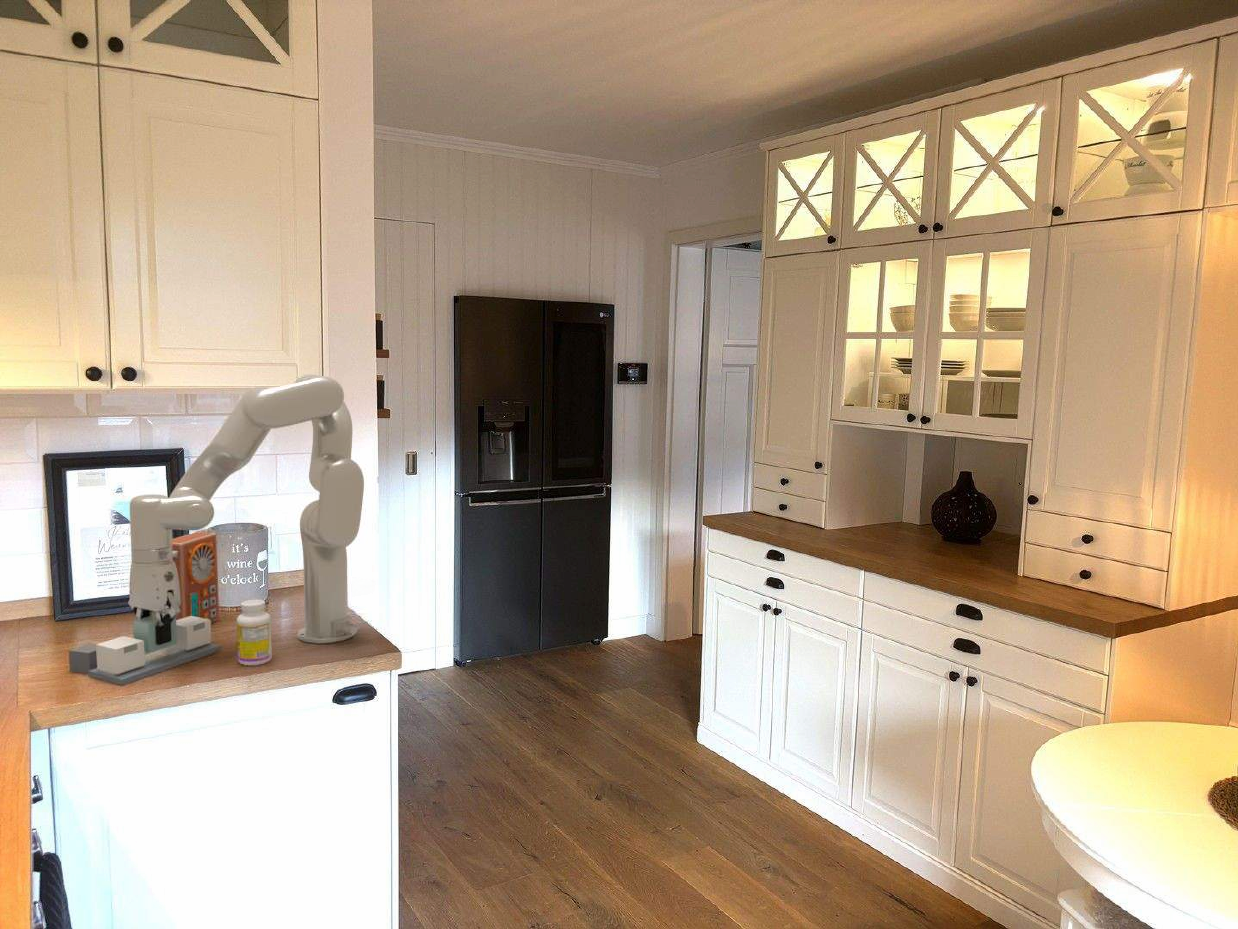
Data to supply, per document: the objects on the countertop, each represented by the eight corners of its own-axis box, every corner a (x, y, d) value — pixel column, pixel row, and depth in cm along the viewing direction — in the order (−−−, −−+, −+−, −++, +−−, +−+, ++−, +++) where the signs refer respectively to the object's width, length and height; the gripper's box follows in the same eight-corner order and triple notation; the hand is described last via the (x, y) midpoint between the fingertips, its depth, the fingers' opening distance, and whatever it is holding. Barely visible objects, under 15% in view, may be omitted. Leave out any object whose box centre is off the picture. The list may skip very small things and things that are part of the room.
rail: (208, 644, 195) (208, 641, 195) (114, 676, 175) (114, 673, 175) (194, 641, 197) (194, 638, 197) (100, 672, 177) (99, 669, 177)
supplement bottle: (244, 655, 192) (242, 597, 190) (276, 655, 192) (274, 597, 191) (233, 666, 185) (231, 606, 184) (265, 666, 186) (264, 606, 184)
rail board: (220, 650, 194) (219, 645, 194) (122, 685, 174) (122, 679, 174) (187, 643, 199) (187, 638, 198) (88, 676, 178) (88, 670, 178)
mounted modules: (211, 642, 195) (210, 619, 194) (117, 674, 175) (116, 649, 174) (191, 637, 197) (190, 615, 197) (97, 668, 177) (95, 644, 177)
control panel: (225, 618, 217) (184, 637, 203) (200, 616, 219) (157, 634, 204) (222, 532, 215) (180, 545, 200) (197, 530, 216) (153, 543, 201)
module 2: (176, 644, 188) (176, 616, 187) (149, 652, 182) (148, 624, 181) (162, 640, 190) (161, 613, 189) (134, 649, 184) (133, 620, 183)
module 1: (110, 666, 184) (108, 645, 184) (89, 674, 179) (88, 653, 179) (90, 663, 185) (89, 642, 185) (69, 672, 181) (68, 650, 180)
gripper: (196, 556, 183) (199, 642, 185) (140, 546, 190) (143, 630, 192) (164, 563, 176) (167, 653, 179) (107, 553, 183) (111, 639, 186)
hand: (155, 640), depth 185 cm, fingers closed on module 2, 4 cm apart
